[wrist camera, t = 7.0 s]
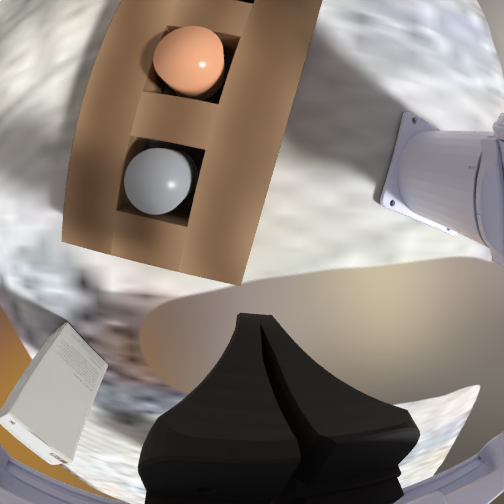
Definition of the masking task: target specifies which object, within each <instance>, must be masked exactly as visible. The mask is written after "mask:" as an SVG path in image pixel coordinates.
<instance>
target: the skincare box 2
mask: <svg viewBox="0 0 504 504" xmlns="http://www.w3.org/2000/svg"><path fill="white" fill-rule="evenodd" d="M107 367H108V364H107V363H106V362H105V361H104V360H103V359H102V358H101V357H100V356H99V355H98V354H97V353H96V352H95V351H94V350H93V349H92V348H91V347H90V346H89V345H88V344H87V343H86V342H85V341H84V340H83V339H82V338H81V336H80V335H79V334H78V333H77V332H76V331H75V330H74V329H73V328H72V327H71V325H70V324H69V323H68V322H66V323H65V324H63V325H62V326H61V327H60V328H58V329H57V330H56V331H55V332H54V333H53V334H51V335H50V336H49V337H48V339H47V340H46V342H45V343H44V345H43V346H42V347H41V349H40V350H39V351H38V353H37V354H36V356H35V357H34V358H33V360H32V361H31V363H30V365H29V366H28V367H27V369H26V370H25V372H24V373H23V375H22V376H21V378H20V379H19V381H18V382H17V384H16V385H15V387H14V389H13V390H12V392H11V393H10V395H9V397H8V398H7V400H6V402H5V404H4V405H3V407H2V408H1V410H0V424H1V425H2V426H3V427H4V428H6V429H7V430H8V431H9V432H10V433H11V434H12V435H13V436H14V437H16V438H17V439H18V440H19V441H20V442H22V443H23V444H24V445H25V446H27V447H28V448H29V449H30V450H32V451H33V452H34V453H36V454H37V455H38V456H40V457H41V458H42V459H44V460H45V461H47V462H48V463H49V464H51V465H56V464H64V463H71V462H72V461H73V458H74V455H75V451H76V448H77V445H78V442H79V439H80V436H81V433H82V430H83V428H84V425H85V422H86V419H87V417H88V414H89V411H90V409H91V406H92V404H93V401H94V398H95V396H96V393H97V391H98V388H99V386H100V383H101V381H102V379H103V376H104V374H105V371H106V369H107Z"/></svg>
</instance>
